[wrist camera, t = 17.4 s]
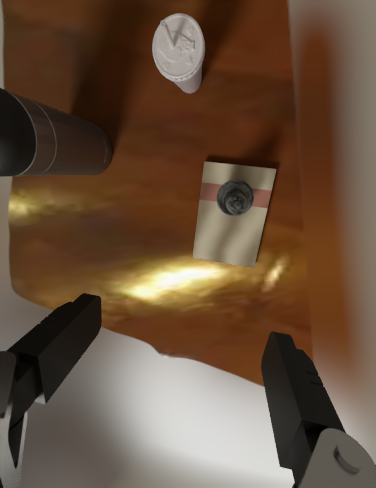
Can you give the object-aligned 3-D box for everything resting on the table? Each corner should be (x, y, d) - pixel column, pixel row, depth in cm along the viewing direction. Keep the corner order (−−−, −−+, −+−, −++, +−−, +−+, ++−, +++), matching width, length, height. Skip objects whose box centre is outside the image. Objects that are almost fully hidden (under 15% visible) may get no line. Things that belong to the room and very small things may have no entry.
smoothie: (170, 56, 34) (136, -17, 21) (211, 54, 33) (201, -24, 20) (170, 103, 36) (139, 63, 23) (208, 102, 35) (199, 60, 22)
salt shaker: (251, 176, 36) (262, 178, 25) (251, 211, 38) (262, 227, 27) (216, 180, 38) (212, 183, 26) (218, 213, 39) (215, 230, 28)
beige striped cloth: (193, 255, 44) (192, 257, 43) (204, 161, 38) (204, 161, 37) (253, 265, 43) (254, 267, 41) (274, 169, 37) (276, 169, 36)
